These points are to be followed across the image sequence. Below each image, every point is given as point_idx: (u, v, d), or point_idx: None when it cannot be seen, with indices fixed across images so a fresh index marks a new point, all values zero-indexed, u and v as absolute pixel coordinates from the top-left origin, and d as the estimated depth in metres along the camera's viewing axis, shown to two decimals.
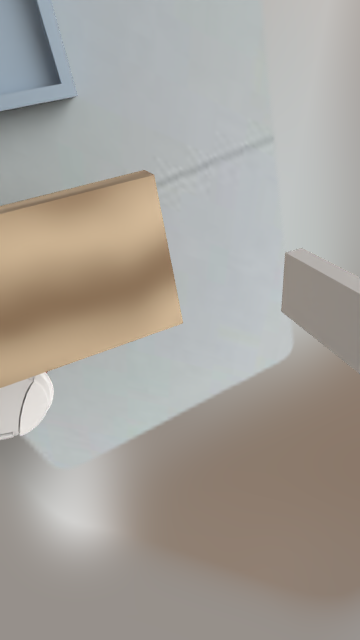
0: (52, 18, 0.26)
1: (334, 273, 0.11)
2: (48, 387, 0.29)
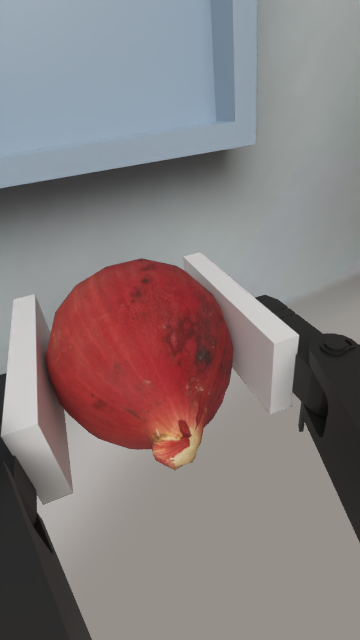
0: None
1: (214, 277, 0.12)
2: None
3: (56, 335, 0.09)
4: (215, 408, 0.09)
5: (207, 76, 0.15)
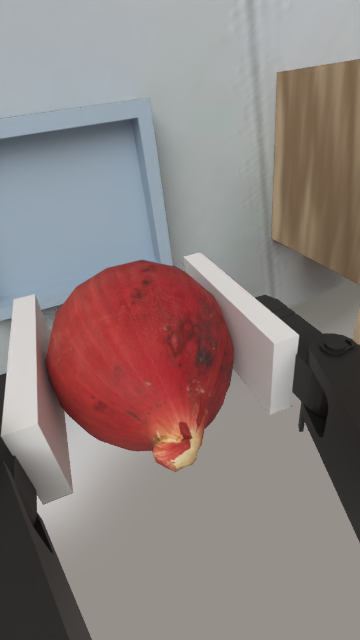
0: (75, 113, 0.22)
1: (214, 277, 0.12)
2: None
3: (56, 336, 0.09)
4: (216, 410, 0.09)
5: (148, 240, 0.30)
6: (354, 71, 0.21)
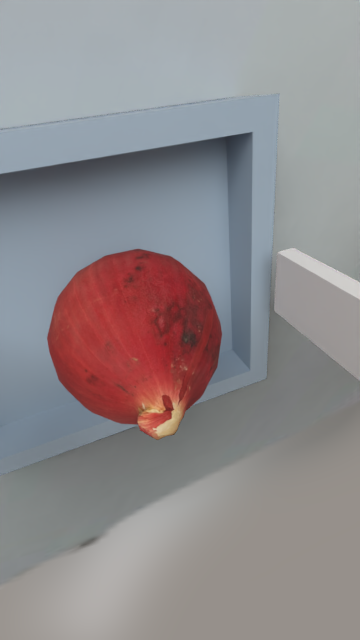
0: (137, 123, 0.10)
1: (324, 273, 0.11)
2: None
3: (56, 316, 0.10)
4: (200, 388, 0.10)
5: (226, 325, 0.18)
6: None
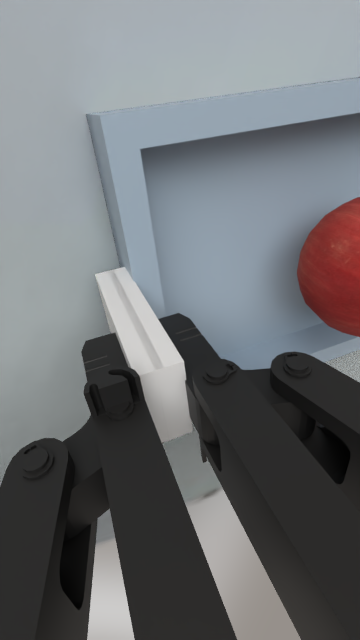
0: None
1: (128, 294, 0.12)
2: None
3: (342, 244, 0.12)
4: None
5: None
6: None
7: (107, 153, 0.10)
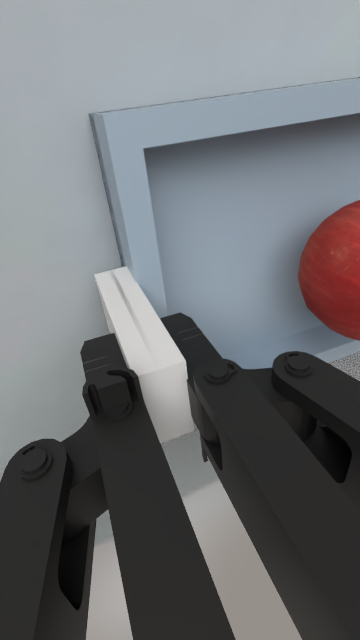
0: None
1: (129, 293, 0.12)
2: None
3: (341, 251, 0.12)
4: None
5: None
6: None
7: (110, 153, 0.10)
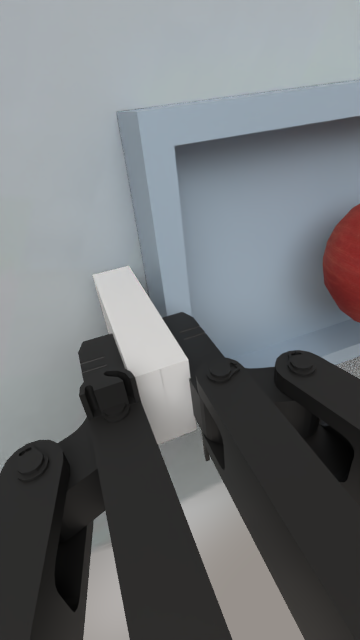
0: None
1: (131, 293, 0.12)
2: None
3: None
4: None
5: None
6: None
7: (142, 150, 0.10)
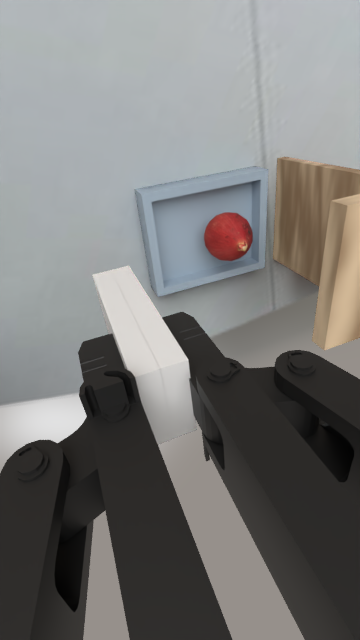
0: (231, 179, 0.40)
1: (131, 293, 0.12)
2: None
3: (215, 223, 0.40)
4: (248, 246, 0.40)
5: None
6: (320, 172, 0.38)
7: (142, 203, 0.38)
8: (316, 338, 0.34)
